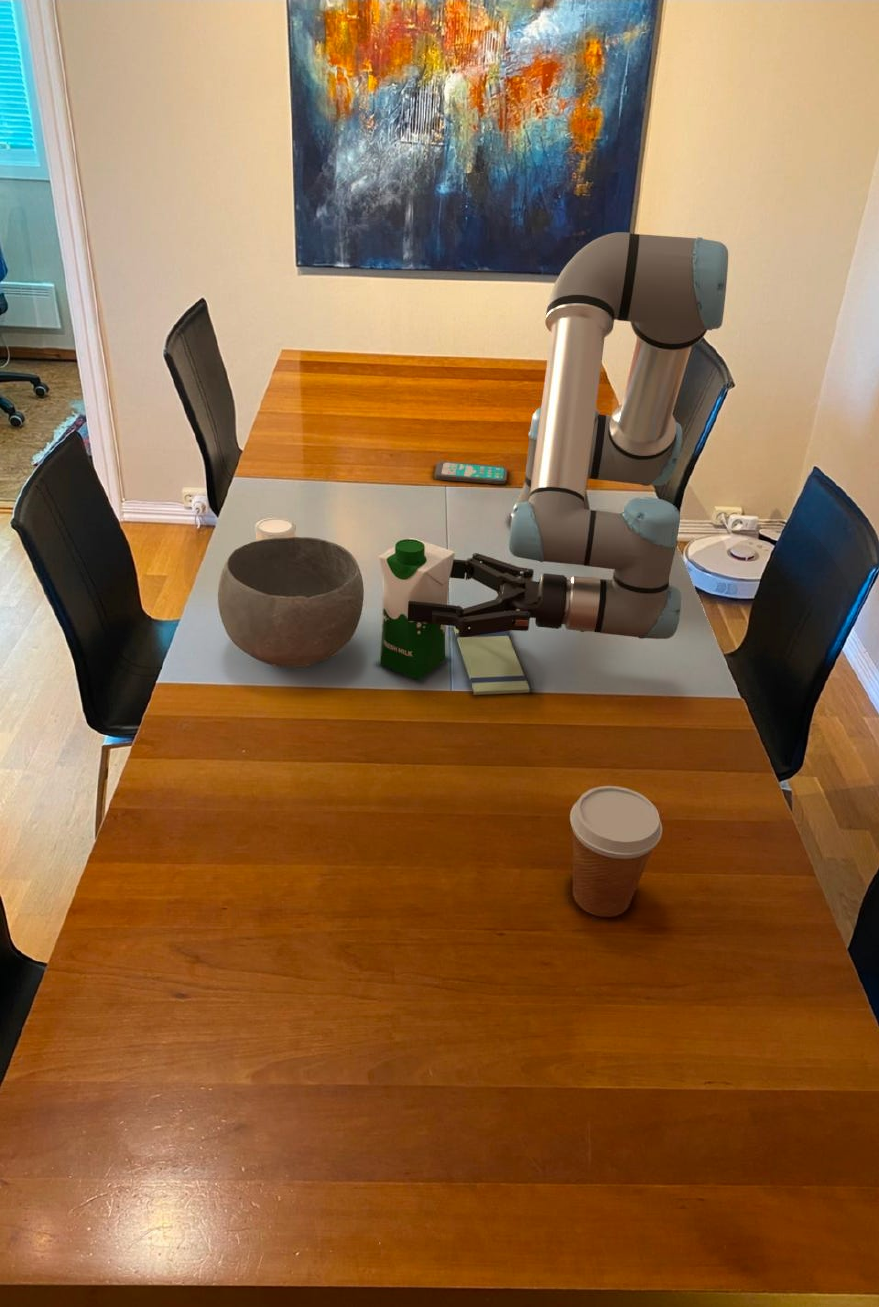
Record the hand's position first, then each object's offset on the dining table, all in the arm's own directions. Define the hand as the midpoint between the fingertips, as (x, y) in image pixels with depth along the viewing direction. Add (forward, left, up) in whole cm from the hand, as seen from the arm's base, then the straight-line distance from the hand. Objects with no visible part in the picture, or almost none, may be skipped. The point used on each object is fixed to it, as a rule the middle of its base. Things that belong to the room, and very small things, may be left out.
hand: (414, 587), depth 139 cm
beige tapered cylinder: (+19, -33, -13) cm, 40 cm away
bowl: (+17, -4, -13) cm, 22 cm away
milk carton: (0, 0, -13) cm, 13 cm away
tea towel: (-12, 0, -13) cm, 17 cm away
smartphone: (-22, -71, -13) cm, 75 cm away
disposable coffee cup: (-15, +48, -13) cm, 52 cm away
